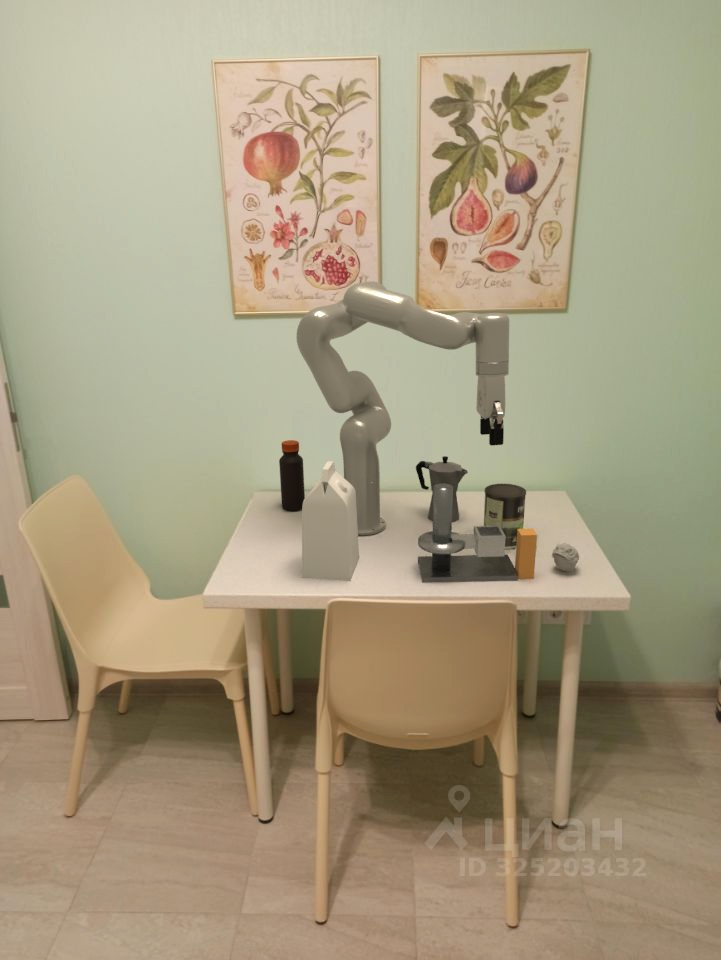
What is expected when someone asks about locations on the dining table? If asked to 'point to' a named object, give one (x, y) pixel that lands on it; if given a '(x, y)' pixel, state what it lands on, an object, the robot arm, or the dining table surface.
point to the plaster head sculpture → (565, 557)
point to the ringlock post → (461, 548)
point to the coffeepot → (442, 480)
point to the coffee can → (505, 510)
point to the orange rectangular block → (525, 553)
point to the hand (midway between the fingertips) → (491, 439)
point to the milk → (330, 528)
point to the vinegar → (291, 477)
